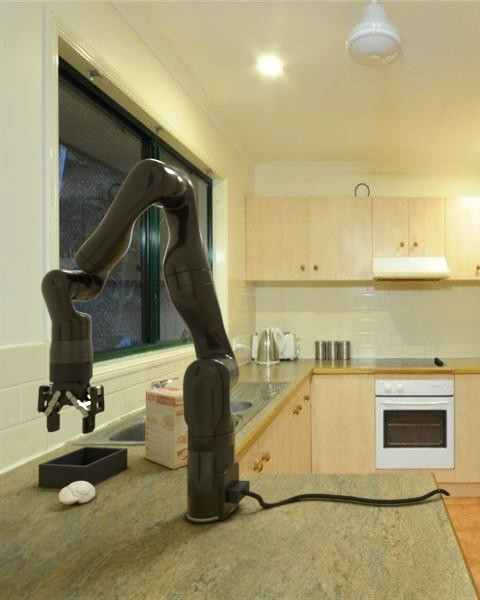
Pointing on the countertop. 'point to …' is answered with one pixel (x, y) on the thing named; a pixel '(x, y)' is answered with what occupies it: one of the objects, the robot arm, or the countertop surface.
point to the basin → (82, 466)
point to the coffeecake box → (166, 427)
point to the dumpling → (77, 493)
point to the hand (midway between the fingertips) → (70, 432)
